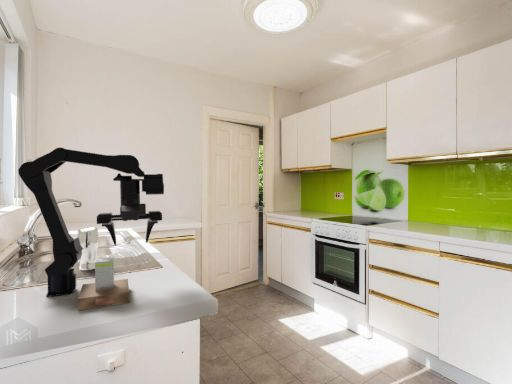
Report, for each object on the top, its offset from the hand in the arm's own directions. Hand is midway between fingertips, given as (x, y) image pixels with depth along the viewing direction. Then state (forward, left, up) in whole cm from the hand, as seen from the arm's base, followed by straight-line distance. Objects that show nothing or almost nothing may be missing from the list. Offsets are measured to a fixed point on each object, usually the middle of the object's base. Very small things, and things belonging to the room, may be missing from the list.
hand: (131, 243), depth 93 cm
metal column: (-7, -9, -10) cm, 16 cm away
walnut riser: (-7, -9, -13) cm, 18 cm away
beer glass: (-14, +27, -13) cm, 33 cm away
